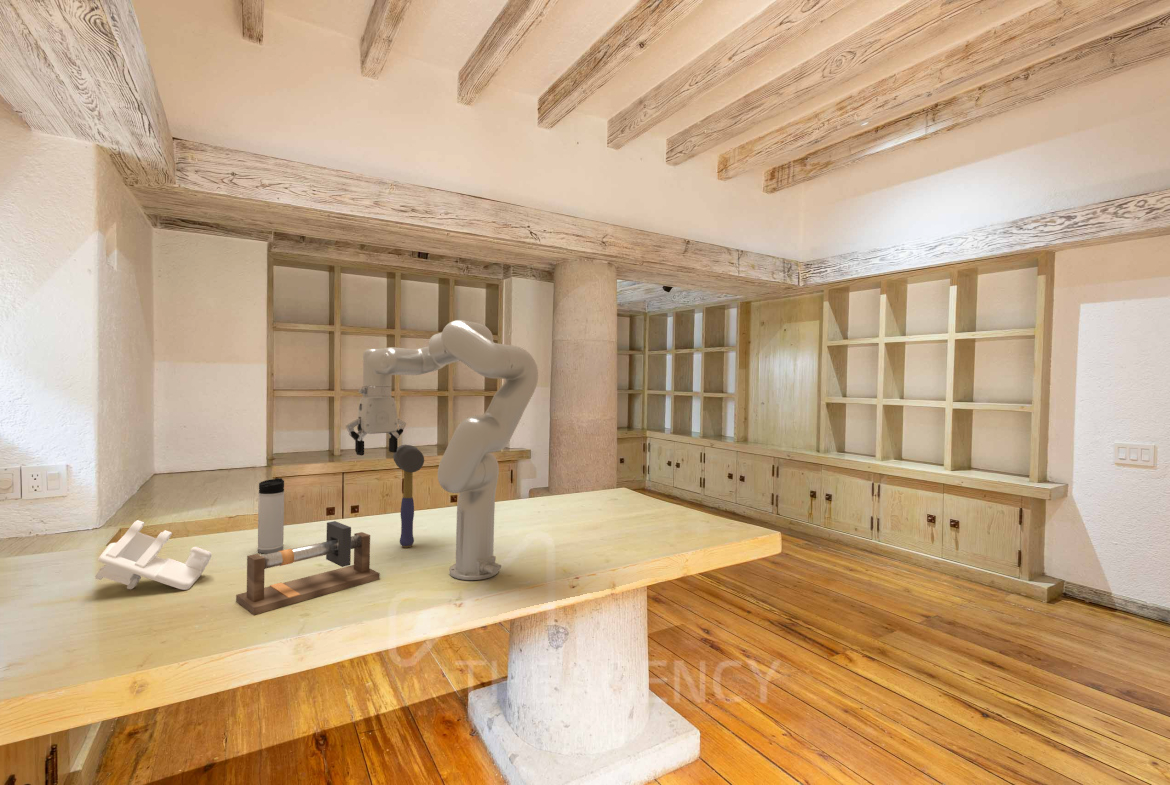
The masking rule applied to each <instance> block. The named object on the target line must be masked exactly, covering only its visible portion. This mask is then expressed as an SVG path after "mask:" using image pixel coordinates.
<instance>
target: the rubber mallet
mask: <svg viewBox="0 0 1170 785" xmlns="http://www.w3.org/2000/svg"><path fill="white" fill-rule="evenodd" d="M392 458H393V461H394V463H395V465H396V466H397V467H398V468H399V469H400V470H402V471H403V490H402V491H403V495H402V498H401V502H400V503H401V504H400V522H401V523H400V525H401V527H400V530H401V531H400V533H401V534H400V538H399V544H400V546H401V547H402V548H411V547H412V546H413V544H414V542H415V537H414V530H413V529H414V517H415V503H414V498H413V481H414V479H413V477H414V476H413V473H416V472H418V471H420V470H421V469H422V468H423V466H424V464H425V456H424V455H423V453H422V451H421V450H420V449H419V448H417V447H416V446H413V445H411V444H402V445H399V446H398V448H397V452H395V453H394V452H393V456H392Z"/></svg>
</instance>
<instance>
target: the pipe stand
mask: <svg viewBox="0 0 1170 785" xmlns="http://www.w3.org/2000/svg"><path fill="white" fill-rule="evenodd" d="M326 541H327V540H326ZM326 541H323V542H318V543H313V544H308V545H305V546H304V545H303V546H300V547H294V548H287V549H283V550H281V551H278V552H275V553H270V554H260V553H259V554H258V553H254V554H253V553H252V554H248V555H247V556H246V591H245V592H240V593H239V594H236V595H235V602H236V603H237V604H238V605H240V606H241V607H243V608H244V609H245V610H246V611H248V612H249V613H250V614H252V615H254V616H256V615H259V614H262V613H265V612H269V611H273V610H276V609H279V608H284V607H287V606H290V605H293V604H297V603H300V602H305V601H307V600H312V599H313V598H314V599H315V598H318V597H321V596H325V595H328V594H329V595H330V594H332V593H335V592H338V591H342V590H346V589H349V588H353V587H357V586H360V585H364V584H366V583H370V582H374V581H378V580H380V579H381V578H380V577H381V576H380V575H381V574H380V572H379V571H376V570H375V569H372V568H371V567H370V562H371V556H370V555H371V535H370V534H368V533H365V532H362V531H359V532H356V533H354V534H353V536H352V535H351V550H353V565H348V566H344V567H340V568H337V569H333V570H329V571H324V572H321V573H316V574H313V575H308V576H306V577H305V576H303V577H302V578H297V579H293V580H289V581H286V582H278V583H274V584H270V585H269V586H266V587H265V570H267V569H271V568H275V567H282V566H285V565H290V564H293V563H296V562H300V561H305V560H306V561H307V560H310V559H314V558H318V557H322V556H326V555H328V554H332V553H337V552H338V542H339V540H338V539H337V540H332V541H327V542H326Z"/></svg>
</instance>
